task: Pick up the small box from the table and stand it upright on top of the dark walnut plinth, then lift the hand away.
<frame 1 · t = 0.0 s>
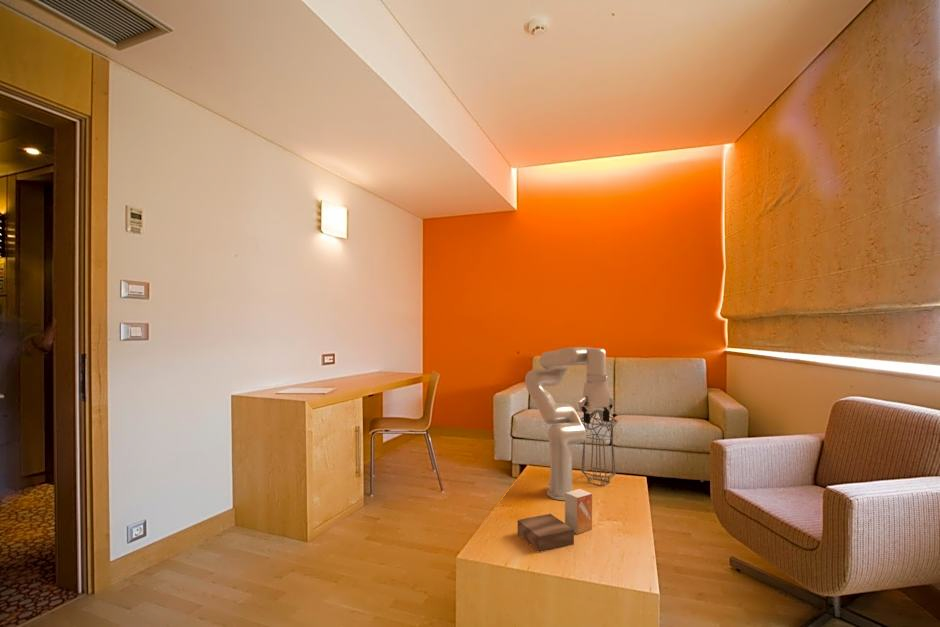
hand: (596, 422, 172), 37 cm above the table, tool pointing down, fingers open, 9 cm apart
small box: (578, 529, 159), on the table
walnut plinth: (545, 539, 151), on the table
geometric lantern: (599, 482, 211), on the table
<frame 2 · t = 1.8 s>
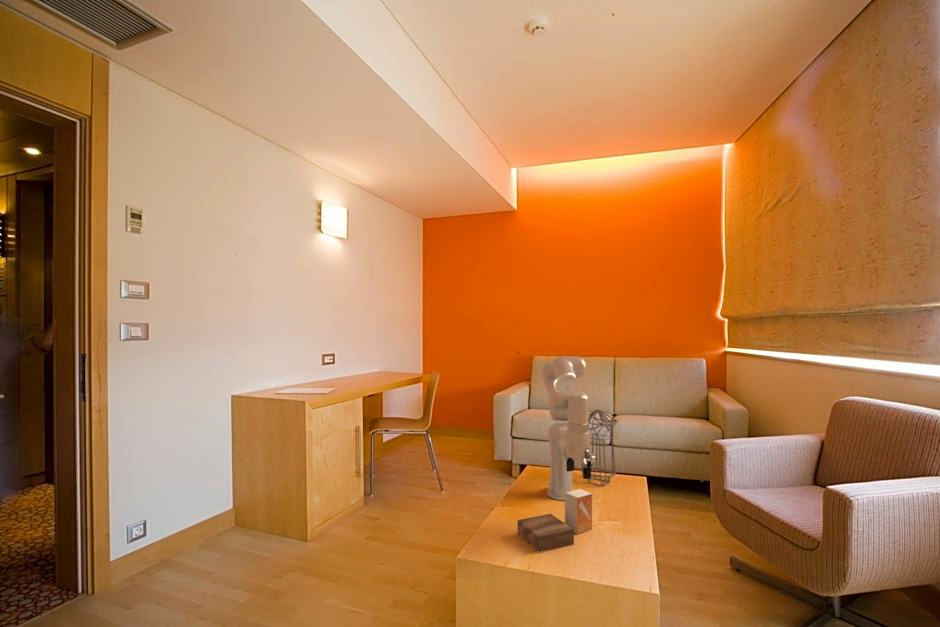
hand: (578, 474, 160), 20 cm above the table, tool pointing down, fingers open, 9 cm apart
nothing on the table moved.
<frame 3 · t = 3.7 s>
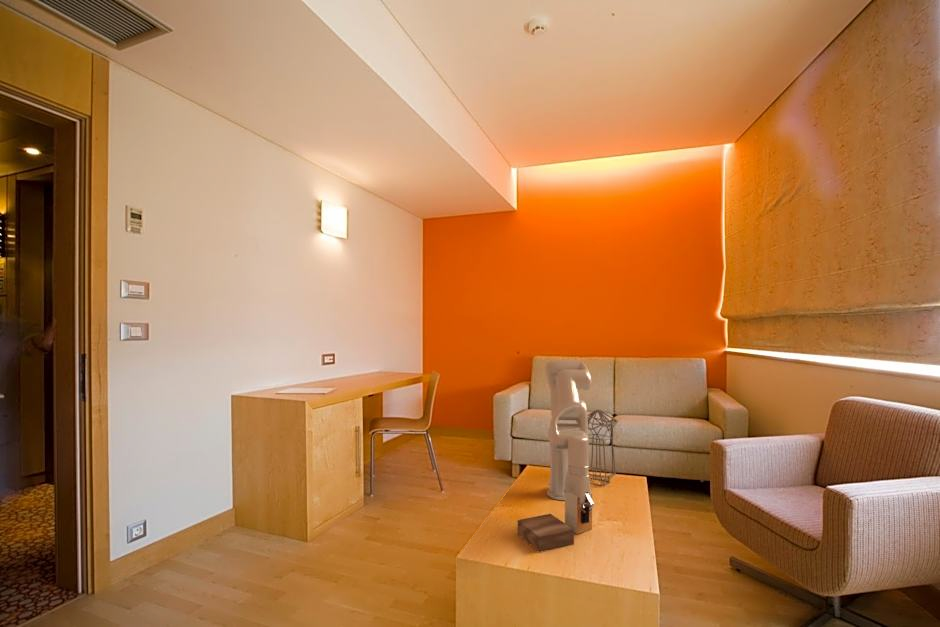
hand: (578, 518, 159), 4 cm above the table, tool pointing down, fingers closed on small box, 6 cm apart
small box: (578, 529, 159), on the table, touching gripper
everything else where it was.
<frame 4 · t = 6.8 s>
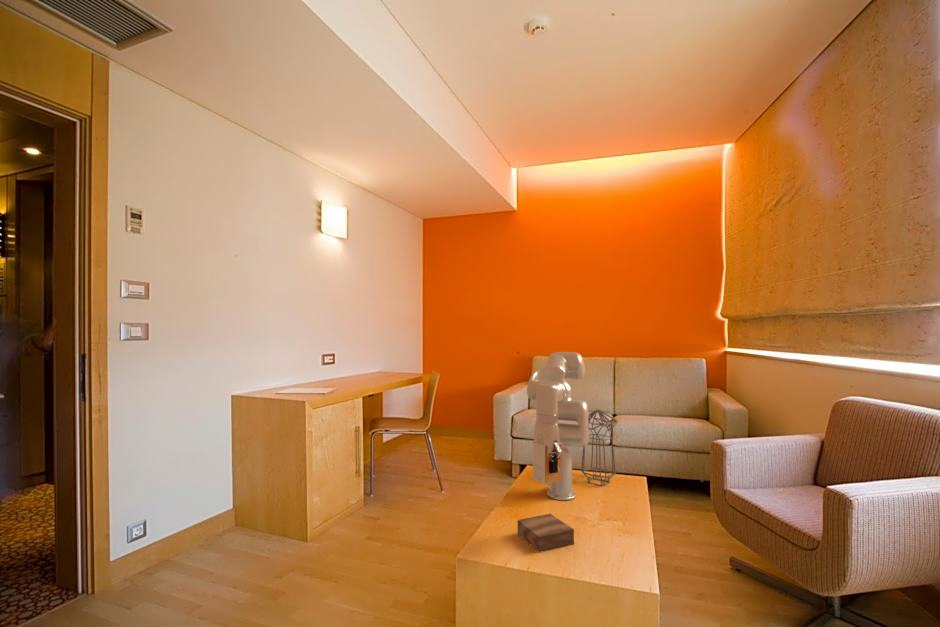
hand: (547, 469, 152), 24 cm above the table, tool pointing down, fingers closed on small box, 6 cm apart
small box: (547, 480, 152), point 20 cm above the table, touching gripper
everything else where it was.
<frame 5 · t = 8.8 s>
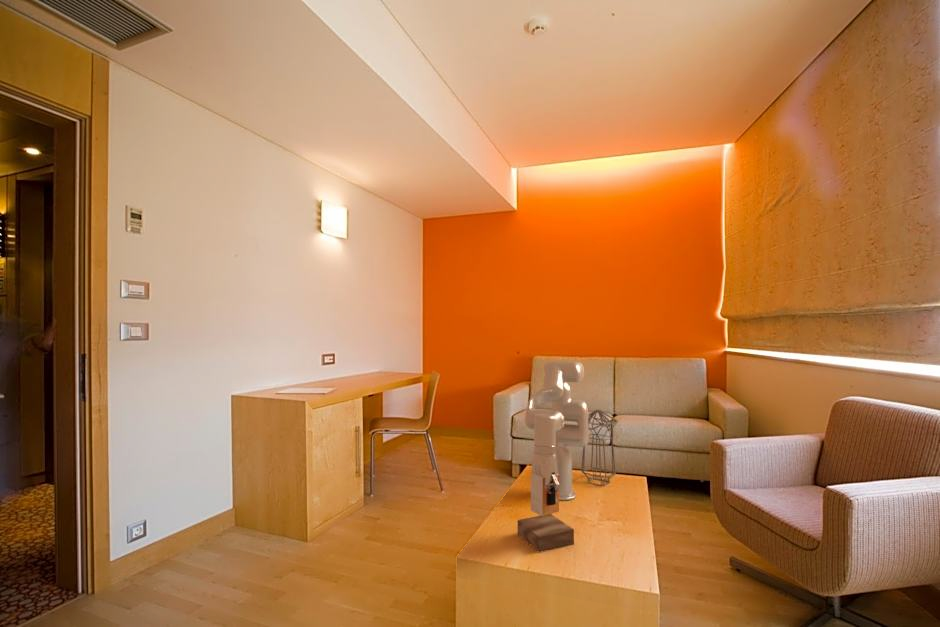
hand: (544, 500, 151), 13 cm above the table, tool pointing down, fingers closed on small box, 6 cm apart
small box: (544, 512, 151), point 9 cm above the table, touching gripper
everything else where it was.
when the fingers open (10 cm above the table, at t = 10.1 s): small box stays where it is, resting on walnut plinth.
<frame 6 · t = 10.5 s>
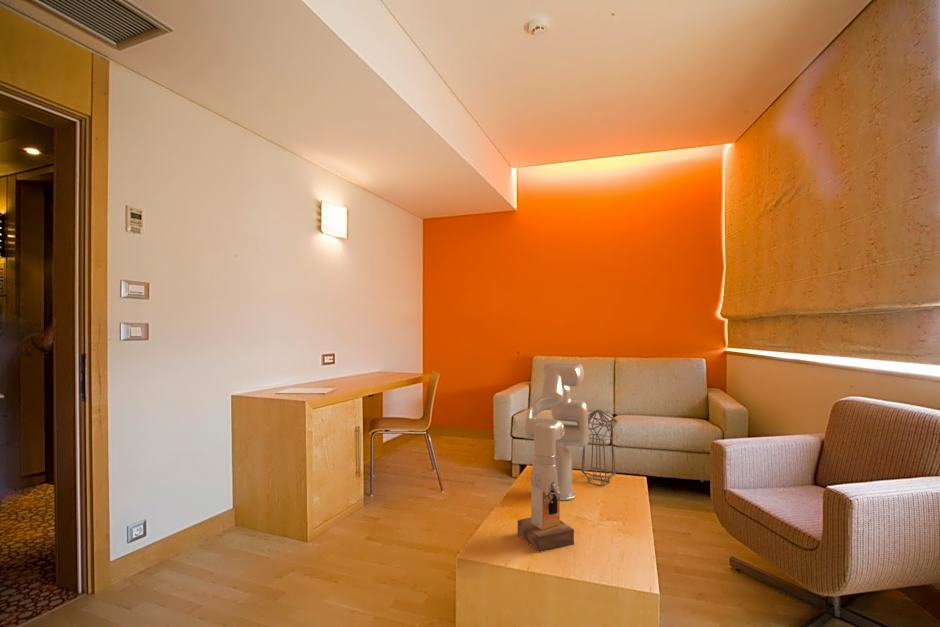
hand: (545, 508, 151), 11 cm above the table, tool pointing down, fingers open, 9 cm apart
small box: (545, 525, 151), point 5 cm above the table, touching walnut plinth
everything else where it was.
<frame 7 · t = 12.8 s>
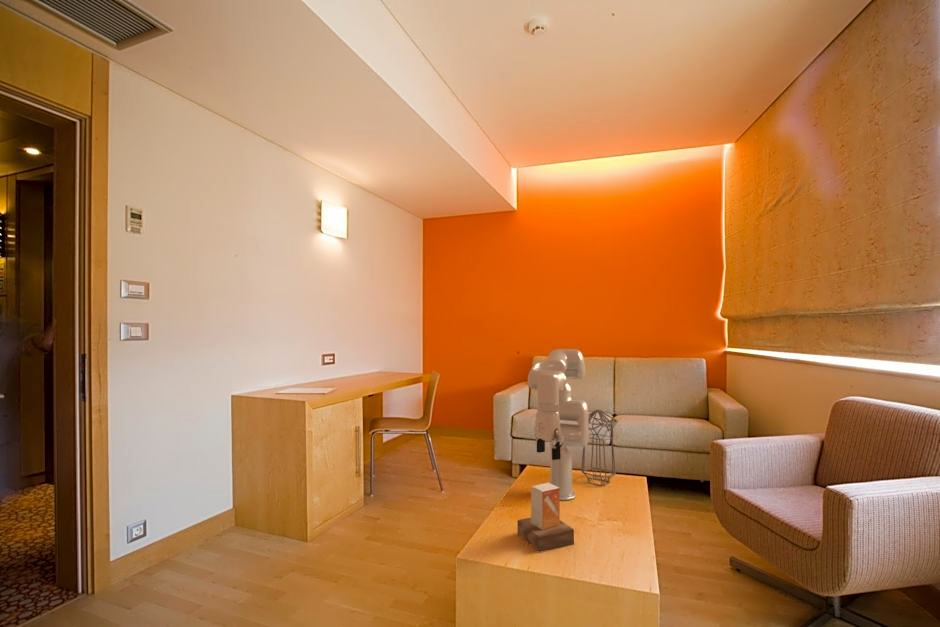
hand: (548, 455, 154), 28 cm above the table, tool pointing down, fingers open, 9 cm apart
nothing on the table moved.
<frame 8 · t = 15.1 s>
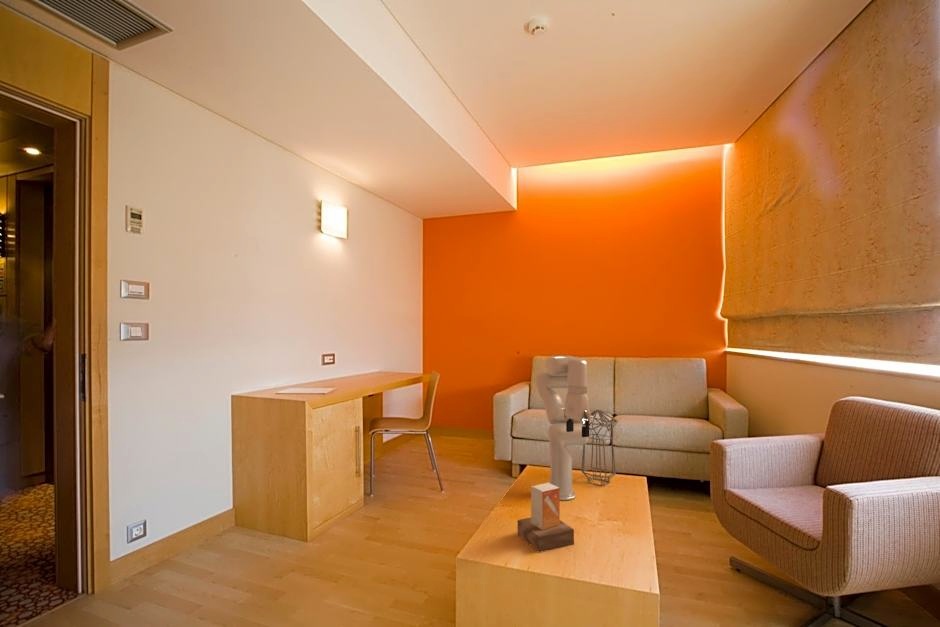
hand: (577, 434, 170), 32 cm above the table, tool pointing down, fingers open, 9 cm apart
nothing on the table moved.
at the end: small box inside the target area on the walnut plinth (0.1 cm from its centre), point 4.8 cm above the walnut plinth's base; small box tilted 0°; the gripper is holding nothing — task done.
